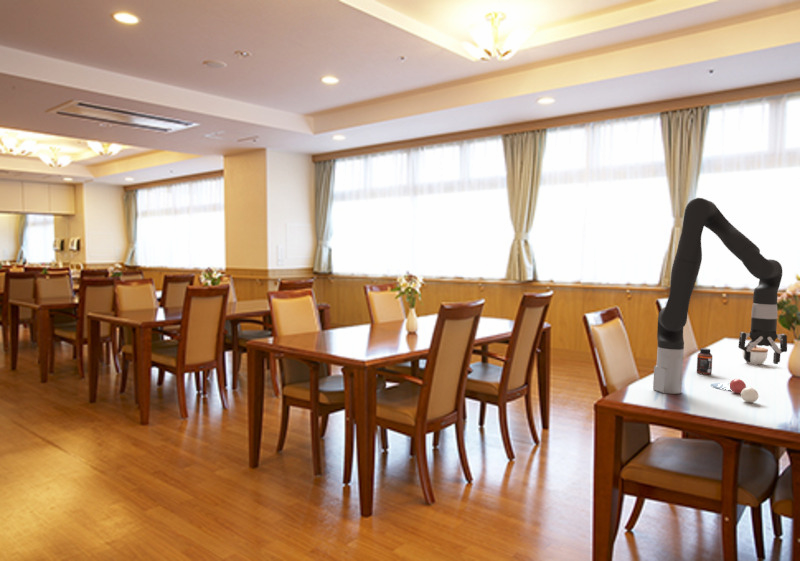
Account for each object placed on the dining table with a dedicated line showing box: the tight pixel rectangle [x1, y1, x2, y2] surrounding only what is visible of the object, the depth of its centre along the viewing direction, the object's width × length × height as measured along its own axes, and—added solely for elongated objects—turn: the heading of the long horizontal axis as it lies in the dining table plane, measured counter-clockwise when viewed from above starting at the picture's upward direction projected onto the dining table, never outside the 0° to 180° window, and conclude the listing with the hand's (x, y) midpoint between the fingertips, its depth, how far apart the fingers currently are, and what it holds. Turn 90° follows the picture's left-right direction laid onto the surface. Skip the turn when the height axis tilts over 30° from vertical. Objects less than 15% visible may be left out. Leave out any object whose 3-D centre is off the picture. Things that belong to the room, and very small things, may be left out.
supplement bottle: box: [696, 347, 713, 376], centre depth 251 cm, size 6×6×11 cm
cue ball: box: [740, 386, 759, 404], centre depth 204 cm, size 6×6×6 cm
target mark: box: [710, 382, 747, 392], centre depth 226 cm, size 14×14×1 cm
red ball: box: [729, 378, 747, 394], centre depth 217 cm, size 6×6×6 cm
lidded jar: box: [742, 345, 769, 365], centre depth 278 cm, size 11×11×9 cm
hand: (761, 362), depth 194 cm, fingers open, 8 cm apart
